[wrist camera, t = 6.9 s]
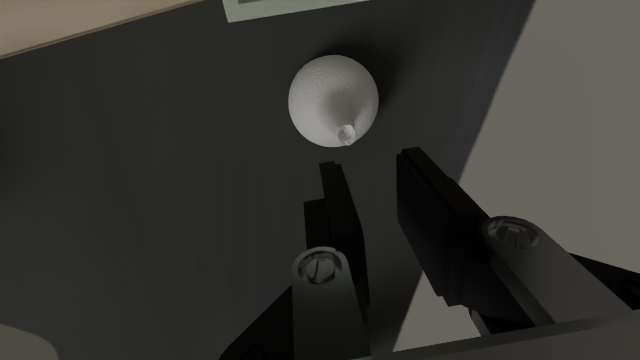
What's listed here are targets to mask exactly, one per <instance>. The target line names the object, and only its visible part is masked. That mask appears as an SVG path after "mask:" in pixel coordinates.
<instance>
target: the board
mask: <svg viewBox="0 0 640 360" xmlns="http://www.w3.org/2000/svg"><path fill="white" fill-rule="evenodd" d="M200 1H203V0H0V59H3V58H6V57H10V56H13V55H17V54H20V53H23V52H27V51H30V50H34V49H37V48H41V47H44V46H48V45H51V44H55V43H58V42H61V41H65V40H68V39H72V38H75V37H79V36H82V35H86V34H89V33H93V32H96V31H99V30H103V29H106V28H110V27H113V26H117V25H120V24H124V23H127V22H131V21H134V20H137V19H141V18H144V17H148V16H151V15H155V14H158V13H162V12H165V11H169V10H172V9H175V8H179V7H182V6H186V5H189V4H193V3H196V2H200Z"/></svg>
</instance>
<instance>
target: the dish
mask: <svg viewBox="0 0 640 360" xmlns="http://www.w3.org/2000/svg"><path fill="white" fill-rule="evenodd" d="M361 1H367V0H223V4H224V8H225V12H226V16H227V19H228V23H229V22H236V21H242V20H248V19H254V18H261V17H267V16H273V15H279V14H286V13H292V12H298V11H304V10H311V9H317V8H323V7H329V6H336V5H342V4H348V3H354V2H361Z"/></svg>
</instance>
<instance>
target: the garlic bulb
mask: <svg viewBox="0 0 640 360" xmlns="http://www.w3.org/2000/svg"><path fill="white" fill-rule="evenodd" d="M378 103H379V98H378V91H377V87H376V84H375V82H374V80H373V78H372V76H371V75H370V73H369V72H368V71H367V70H366V69H365V68H364V67H363V66H362V65H361V64H359V63H358V62H356V61H355V60H353V59H351V58H348V57H345V56H341V55H328V56H322V57H319V58H316V59H314V60H312V61H310V62H309V63H307V64H305V65H304V67H303V68H302V69H301V70H300V71H299V72H298V73H297V75H296V76H295V78H294V80H293V82H292V84H291V87H290V91H289V99H288V105H289V112H290V115H291V118H292V121H293V123H294V125H295V126H296V128H297V129H298V131H299V132H300V133H301V134H302V135H303V136H304V137H305V138H307V139H308V140H309V141H311V142H313V143H315V144H318V145H321V146H325V147H339V146H344V145H350V144H352V143H354V142H355V141H356V140H357V139H359V138H360V137H361V136H362V135H364V134H365V133H366V132H367V130H368V129H369V128H370V126H371V125H372V123H373V121H374V119H375V117H376V114H377V110H378Z"/></svg>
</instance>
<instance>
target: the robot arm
mask: <svg viewBox="0 0 640 360" xmlns="http://www.w3.org/2000/svg"><path fill="white" fill-rule="evenodd" d="M396 165H397V216H398V221H399V224H400V226H401V228H402V230H403V232H404V234H405V236H406V237H407V239H408V241H409V243H410V245H411V247H412V249H413V251H414V253H415V255H416V257H417V259H418V261H419V263H420V265H421V266H422V268H423V270H424V272H425V274H426V276H427V278H428V280H429V281H430V284H431V286H432V288H433V290H434V292H435V293H436V295H437V296H443V298H444V300H445V301H446V303H447V305H448V306H454V305H463V306H465V307H467V308H469V314H470V317H471V319H472V320H473V322H474V324H475V326H476V327H477V329H478V330H479V333H480V334H481V337H476V338H470V339H464V340H458V341H453V342H447V343H441V344H435V345H430V346H424V347H419V348H413V349H407V350H402V351H396V352H391V353H385V354H380V355H374V356H372V355H371V351H370V347H369V344H368V340H367V336H366V332H365V328H364V325H365V324H366V322H367V321H368V319H367V309H370V299H369V288H368V277H367V266H366V255H365V244H364V236H363V230H362V226H361V223H360V220H359V217H358V214H357V211H356V208H355V205H354V202H353V199H352V196H351V193H350V190H349V187H348V184H347V181H346V178H345V175H344V172H343V169H342V167H341V164H337V165H335V162H334V161H331V162H325V163H319V167H320V173H321V179H322V185H323V191H324V197H325V198H324V199H318V200H312V201H306V202H304V216H305V229H306V242H307V251H305V252H304V253H302V254H301V255H300V256H299V257H298V258H297V259H296V260H295V262H294V264H293V267H292V285H291V286H290V287H289V288H288V289H287V290H286V291H285V292H284V293H283V294H282V295H280V296H279V297H278V298H277V299H276V300H275V301H274V302H273V303H272V304H271V305H270V306H269V307H268V308H267V309H266V310H265V311H264V312H263V313H262V314H261V315H260V316H259V317H258V318H257V319H256V320H255V321H254V322H253V323H252V324H251V325H250V326H249V327H248V328H247V329H246V330H245V331H244V332H243V333H242V334H241V335H240V336H239V337H238V338H237V339H236V340H235V341H234V342H233V343H231V344H230V345H229V346H228V348H227V349H226V350H225V351H224V352H223V354H222V355H221V356H220V358H219V360H640V274H639V273H636V272H632V271H629V270H626V269H622V268H619V267H615V266H612V265H609V264H605V263H602V262H599V261H595V260H592V259H588V258H585V257H582V256H578V255H575V254H572V253H568V252H566V251H565V250H564V249H563V248H562V247H561V246H560V245H559V244H557V243H556V242H555V241H554V240H553V239H552V238H550V237H549V236H548V235H547V234H546V233H545V232H544V231H543V230H542V229H540V228H539V227H537V226H536V225H534V224H533V223H531V222H529V221H526V220H524V219H520V218H516V217H509V216H496V217H493V218H490V217H489V216H488V215H487V214H486V213H485V212H484V211H483V210H482V209H481V208H480V207H479V206H478V205H477V204H476V203H475V202H474V201H473V200H472V199H471V198H470V197H469V195H468V194H467V193H465V191H463V189H462V188H461V187H460V186H459V185H458V184H457V183H456V182H455V181H454V180H453V179H452V178H449V177H447V176H446V175H445V174H444V172H443V171H442V170H441V169H440V168H439V167H438V166H437V165H436V164H435V163H434V162H433V161H432V160H431V159H430V158H429V157H428V156H427V155H426V154H425V153H424V152H423V150H422V149H421V148H420V147H413V148H407V149H402V151H401V154H397V157H396Z"/></svg>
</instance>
